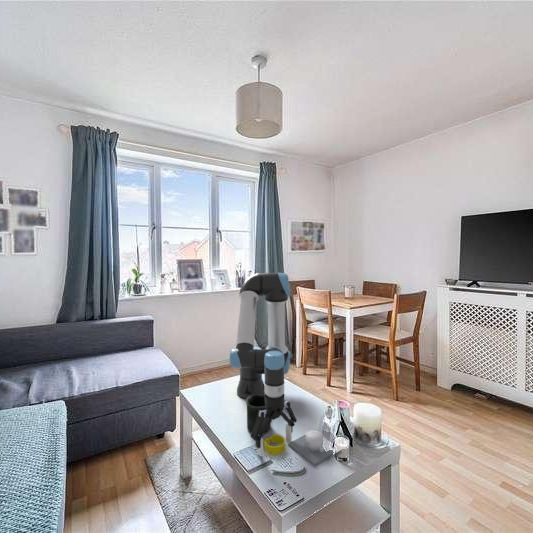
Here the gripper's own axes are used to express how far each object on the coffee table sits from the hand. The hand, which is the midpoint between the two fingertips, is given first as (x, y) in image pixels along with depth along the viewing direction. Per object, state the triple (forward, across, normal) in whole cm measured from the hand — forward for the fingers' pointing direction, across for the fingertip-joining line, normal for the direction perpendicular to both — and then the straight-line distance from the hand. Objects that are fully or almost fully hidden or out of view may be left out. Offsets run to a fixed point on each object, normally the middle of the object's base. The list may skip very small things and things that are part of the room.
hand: (274, 448), depth 113 cm
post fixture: (0, +12, -9) cm, 15 cm away
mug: (0, +3, +16) cm, 16 cm away
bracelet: (0, 0, 0) cm, 1 cm away
